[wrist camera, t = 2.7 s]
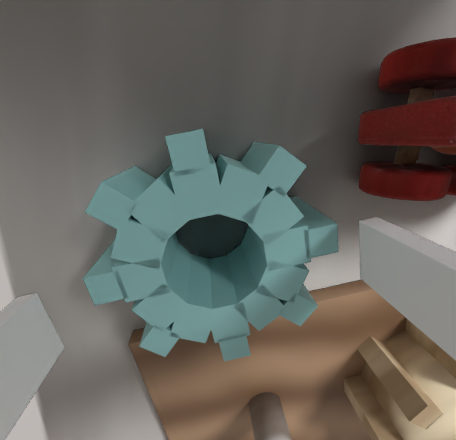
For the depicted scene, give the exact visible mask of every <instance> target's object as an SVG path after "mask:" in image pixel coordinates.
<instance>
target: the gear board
mask: <svg viewBox="0 0 456 440" xmlns="http://www.w3.org/2000/svg"><path fill="white" fill-rule="evenodd" d="M309 293H310V294H311V296H312V297H313V299H314V300H315V302H316V303H317V305H318V307H317V308H316V309H315V310H314V312H313V313H312V314H311V315H310V316H309V317H308V318H307V319H306V321H305V322H304V323H303V324H302V325H301V326H299V325H297V324H295V323H293V322H291V321H289V320H287V319H285V318H284V317H282V316H279V317H277V318H276V319H275V320H273V321H272V322H271V323H269V324H268V325H267V326H265V327H264V328H263V329H261V330H260V331H258V330H257V329H256V328H255V327H254V326H253V325H252V324H251V323H250V322H248V325H249V330H250V335H248V336H247V340H248V345H249V350H250V354H251V355H250V356H246V357H242V358H237V359H233V360H228V361H224V360H223V356H222V352H221V348H220V345H219V342H217V343H215V342H214V338H213V334H212V330H211V331H210V333H209V336H208V338H207V341H206V343H202V342H196V341H191V340H186V339H181V338H179V339H178V341H177V342H176V343H175V345H174V346H173V347H172V349H171V350H170V351H169V353H168V354H167V355H166V357H164V356H161V355H159V354H156V353H154V352H152V351H149V350H147V349H144V348H142V347H139V346H140V342H141V339H142V335H143V332H144V329H145V328H143V329H139V330H134V331H133V333H132V335H131V338H130V341H129V347H130V349H131V352H132V354H133V356H134V359H135V361H136V363H137V366H138V368H139V370H140V373H141V375H142V377H143V380H144V382H145V385H146V387H147V389H148V392H149V394H150V396H151V399H152V401H153V403H154V406H155V408H156V411H157V413H158V415H159V418H160V420H161V422H162V425H163V427H164V429H165V432H166V434H167V437H168V439H169V440H456V361H455V360H454V359H453V358H452V357H451V356H450V355H448V354H447V353H446V352H445V351H444V350H443V349H442V348H440V347H439V346H438V345H437V344H436V343H435V342H433V341H432V340H431V339H430V338H429V337H428V336H427V335H425V334H424V333H423V332H422V331H421V330H420V329H418V328H417V327H416V326H415V325H414V324H413V323H411V322H410V321H409V320H408V319H407V318H406V317H405V316H403V315H402V314H401V313H400V312H399V311H398V310H396V309H395V308H394V307H393V306H392V305H391V304H390V303H388V302H387V301H386V300H385V299H384V298H383V297H381V296H380V295H379V294H378V293H377V292H376V291H374V290H373V289H372V288H371V287H370V286H369V285H368V284H366V283H365V282H364V281H363V280H358V281H354V282H349V283H345V284H340V285H336V286H331V287H327V288H322V289H318V290H313V291H309Z"/></svg>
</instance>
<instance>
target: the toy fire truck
mask: <svg viewBox="0 0 456 440" xmlns="http://www.w3.org/2000/svg"><path fill="white" fill-rule="evenodd" d="M378 88H379V89H381V90H382V91H385V92H389V93H410V94H409V97H408V102H407V104H405V105H400V106H394V107H389V108H383V109H377V110H372V111H367V112H364V113H362V114H361V116H360V124H359V133H358V141H359V143H360V144H362V145H385V146H386V145H394V146H398V147H399V148H398V150H397V153H396V157H395V161H394V162H371V163H365V164H364V165H363V166H362V168H361V172H360V178H359V188H360V189H361V190H362V191H364V192H366V193H369V194H372V195H376V196H381V197H386V198H392V199H402V200H412V201H431V200H438V199H441V198H443V197H445V195H446V194H450V195H455V196H456V165H447V166H444V167H440V166H436V165H429V164H419V163H416V161H417V160H418V155H419V151H420V147H421V146H428V147H431V148H432V149H434V150H435V151H437V152H440V153H444V154H456V95H455V96H450V97H444V98H438V99H432V98H433V95H434V91H443V90H449V89H454V88H456V38H446V39H439V40H432V41H427V42H423V43H418V44H414V45H410V46H406V47H404V48H401V49H398V50H395V51H393V52H391V53H390V54H388V55H387V56H386V57H385V58H384V60H383V62H382V64H381V69H380V75H379V80H378Z"/></svg>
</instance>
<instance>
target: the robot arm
mask: <svg viewBox="0 0 456 440" xmlns="http://www.w3.org/2000/svg"><path fill="white" fill-rule="evenodd" d="M359 244H360V278H361V279H362V280H363V281H364V282H365V283H366V284H368V285H369V286H370V287H371V288H372V289H373V290H374V291H376V292H377V293H378V294H379V295H380V296H381V297H383V298H384V299H385V300H386V301H387V302H388V303H390V304H391V305H392V306H393V307H394V308H395V309H396V310H398V311H399V312H400V313H401V314H402V315H403V316H405V317H406V318H407V319H408V320H409V321H410V322H411V323H413V324H414V325H415V326H416V327H417V328H418V329H420V330H421V331H422V332H423V333H424V334H425V335H427V336H428V337H429V338H430V339H431V340H432V341H433V342H435V343H436V344H437V345H438V346H439V347H440V348H442V349H443V350H444V351H445V352H446V353H447V354H448V355H450V356H451V357H452V358H453V359H454V360H455V361H456V252H455V251H453V250H451V249H449V248H446V247H444V246H442V245H439V244H437V243H435V242H433V241H430V240H428V239H426V238H424V237H421V236H419V235H417V234H414V233H412V232H410V231H408V230H405V229H403V228H401V227H399V226H396V225H394V224H392V223H389V222H387V221H385V220H383V219H380V218H378V217H374V218H370V219H365V220H361V221H359ZM64 348H65V347H64V345H63V343H62V341H61V339H60V337H59V335H58V333H57V331H56V330H55V328H54V326H53V324H52V322H51V320H50V318H49V316H48V314H47V312H46V310H45V308H44V306H43V304H42V303H41V301H40V299H39V297H38V295H37V293H34V294H30V295H25V296H21V297H17V298H15V299H14V300H13V301H12V302H11V303H10V304H8V305H7V306H6V307H5V308H4V309H3V310H2V311H0V440H5V439H6V438H7V436H8V434H9V433H10V431H11V430H12V428H13V427H14V425H15V424H16V422H17V421H18V419H19V417H20V416H21V414H22V413H23V411H24V410H25V408H26V407H27V405H28V403H29V402H30V400H31V399H32V397H33V396H34V394H35V393H36V391H37V390H38V388H39V386H40V385H41V383H42V382H43V380H44V379H45V377H46V376H47V374H48V373H49V371H50V369H51V368H52V366H53V365H54V363H55V362H56V360H57V359H58V357H59V355H60V354H61V352H62V351H63V349H64Z"/></svg>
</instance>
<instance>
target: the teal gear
mask: <svg viewBox="0 0 456 440" xmlns="http://www.w3.org/2000/svg"><path fill="white" fill-rule="evenodd" d="M165 139H166V142H167V146H168V150H169V154H170V158H171V161H172V165H171V166H170V167H169V168H168V169H167V170H165V171H164V172H163V173H162V174H161V175H160V176H159V177H158V178H157V179H156V178H154V177H152V176H151V175H149V174H147V173H146V172H144V171H142V170H141V169H139V168H137V167H136V166H134V167H132V168H130V169H128V170H125V171H123V172H121V173H119V174H117V175H115V176H113V177H111V178H109V179H107V180H105V181H103V182H101V183H100V185H99V187H98V189H97V191H96V193H95V194H94V196H93V198H92V200H91V202H90V204H89V206H88V207H87V209H86V211H85V213H87V214H89V215H91V216H93V217H94V218H96V219H98V220H100V221H102V222H104V223H106V224H108V225H110V226H111V227H113V228H115V229H117V233H116V238H115V240H114V241H113V242H112V244H111V245H110V246H109V247H108V248H107V250H106V251H105V252H104V253H103V254H102V256H101V257H100V258H99V259H98V261H97V262H96V263H95V264H94V265H93V267H92V268H91V269H90V270H89V271H88V273H87V274H86V275H85V276H84V278H83V280H84V283H85V285H86V287H87V289H88V291H89V294H90V296H91V298H92V300H93V302H94V305H99V304H103V303H108V302H113V301H117V300H122V299H124V300H125V302H131V301H135V302H134V305H133V307H132V311H133V312H135V313H136V314H137V315H138V316H140V317H141V318H142V319H144V320H145V321H146V325H145V329H144V332H143V335H142V339H141V342H140V346H139V347H142V348H144V349H147V350H149V351H152V352H154V353H156V354H159V355H161V356H164V357H166V355H167V354H168V353H169V351H170V350H171V349H172V347H173V346H174V345H175V343H176V342H177V341H178V339H179V338H181V339H186V340H191V341H196V342H202V343H206V341H207V338H208V336H209V333H210V331H211V330H212V334H213V338H214V342H215V343H217V342H219V345H220V348H221V352H222V356H223V360H224V361H228V360H233V359H237V358H242V357H246V356H250V355H251V354H250V350H249V345H248V340H247V336H248V335H250V330H249V325H248V322H250V323H251V324H252V325H253V326H254V327H255V328H256V329H257V330H258V331H260V330H261V329H263V328H264V327H265V326H267V325H268V324H269V323H271V322H272V321H273V320H275V319H276V318H277V317H279V316H282V317H284V318H285V319H287V320H289V321H291V322H293V323H295V324H297V325H299V326H301V325H302V324H303V323H304V322H305V321H306V319H307V318H308V317H309V316H310V315H311V314H312V313H313V312H314V310H315V309H316V308H317V307H318V305H317V303H316V302H315V300H314V299H313V297H312V296H311V294H310V293H309V292H308V290H307V289H306V287H305V286H304V284H303V282H304V280H305V278H306V276H307V274H308V272H309V270H308V269H307V267H306V266H305V265H304V263H308V262H311V258H313V257H318V256H322V255H327V254H331V253H336V252H339V251H338V229H337V223H336V222H334V221H333V220H331V219H330V218H328V217H327V216H325V215H324V214H322V213H321V212H319V211H318V210H316V209H315V208H313V207H312V206H310V205H309V204H307V203H306V202H304V201H303V200H301V199H300V198H298V197H297V196H296V197H291V198H289V197H288V195H287V192H288V191H289V190H290V188H291V187H292V186H293V184H294V183H295V181H296V180H297V179H298V177H299V176H300V175H301V173H302V172H303V171H304V169H305V168H306V167H307V166H306V165H305V164H304V163H302V162H301V161H300V160H298V159H297V158H296V157H294V156H293V155H292V154H290V153H289V152H288V151H286V150H285V149H284V148H282V147H281V146H280V145H273V144H267V143H260V142H254V143H253V144H252V146H251V147H250V148H249V150H248V151H247V153H246V154H245V156H244V157H243V159H242V160H241V161H238V160H235V159H232V158H229V157H226V156H223V155H221V154H219V156H218V160H217V163H215V161H214V159H213V156H212V154H208V150H207V146H206V141H205V136H204V132H203V129H199V130H194V131H189V132H184V133H179V134H174V135H169V136H165ZM215 214H221V215H224V216H227V217H231V218H234V219H237V220H240V221H244V222H246V223H247V224H248V228H247V231H246V233H245V236H244V238H243V241H242V243H241V244H240V245H239V246H238V247H236V248H235V249H234V250H233V251H232V252H230V253H229V254H228V255H225V256H220V257H215V258H211V259H208V258H205V257H201V256H197V255H193V254H191V253H190V252H189V251H188V250H187V249H186V248H185V247H184V246H182V245H181V244H180V243H179V242H178V239H177V235H176V231H177V230H179V229H180V228H181V227H182V226H183V225H184V224H185V223H187V222H188V221H189V220H192V219H197V218H201V217H206V216H211V215H215Z"/></svg>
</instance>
